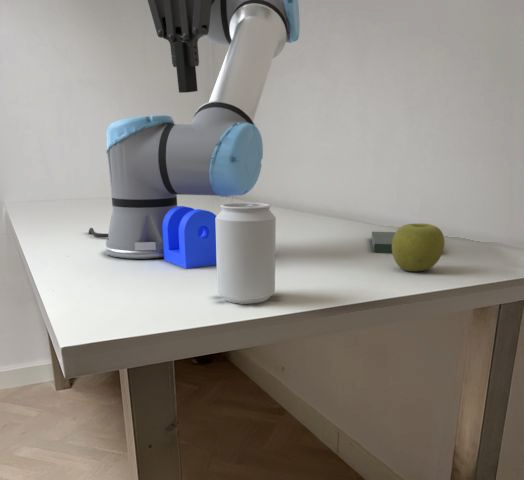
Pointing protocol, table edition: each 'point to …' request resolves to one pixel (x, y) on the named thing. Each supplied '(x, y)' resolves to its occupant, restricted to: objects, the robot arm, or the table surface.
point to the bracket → (189, 237)
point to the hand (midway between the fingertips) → (188, 91)
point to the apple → (417, 246)
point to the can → (245, 252)
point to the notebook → (382, 241)
